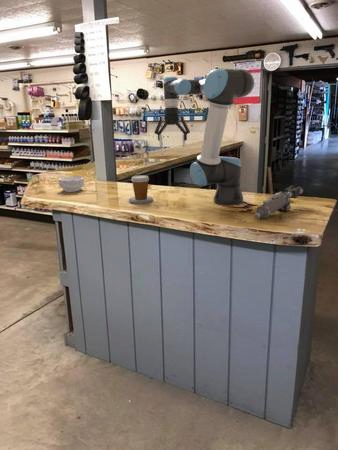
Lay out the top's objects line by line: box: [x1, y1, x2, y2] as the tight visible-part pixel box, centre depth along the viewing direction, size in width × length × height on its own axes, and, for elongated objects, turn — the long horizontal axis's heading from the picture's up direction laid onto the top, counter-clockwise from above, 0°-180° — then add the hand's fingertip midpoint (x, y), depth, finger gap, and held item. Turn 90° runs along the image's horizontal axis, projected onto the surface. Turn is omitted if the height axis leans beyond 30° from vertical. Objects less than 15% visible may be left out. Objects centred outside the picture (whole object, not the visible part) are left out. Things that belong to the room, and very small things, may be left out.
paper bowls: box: [58, 176, 85, 193], centre depth 231 cm, size 15×15×8 cm
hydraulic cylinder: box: [253, 185, 304, 220], centre depth 169 cm, size 7×37×10 cm, turn 135°
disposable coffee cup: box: [130, 174, 150, 200], centre depth 197 cm, size 10×10×12 cm
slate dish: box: [128, 195, 154, 205], centre depth 199 cm, size 13×13×1 cm
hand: (172, 146), depth 209 cm, fingers open, 13 cm apart
